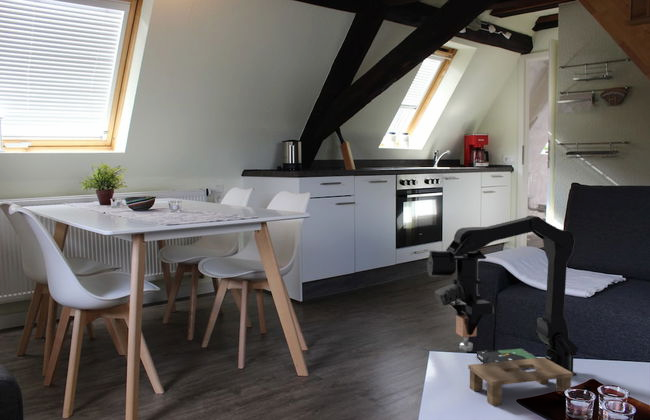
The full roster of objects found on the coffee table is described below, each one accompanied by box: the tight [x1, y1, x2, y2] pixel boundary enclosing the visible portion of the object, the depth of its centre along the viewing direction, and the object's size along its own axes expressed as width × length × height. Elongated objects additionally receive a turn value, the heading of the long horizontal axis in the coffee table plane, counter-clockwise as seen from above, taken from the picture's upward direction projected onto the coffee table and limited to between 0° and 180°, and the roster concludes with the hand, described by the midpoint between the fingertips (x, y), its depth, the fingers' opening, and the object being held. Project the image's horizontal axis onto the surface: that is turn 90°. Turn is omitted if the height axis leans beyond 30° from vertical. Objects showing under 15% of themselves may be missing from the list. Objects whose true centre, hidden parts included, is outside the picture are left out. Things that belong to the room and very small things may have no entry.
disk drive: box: [476, 348, 538, 363], centre depth 170 cm, size 10×3×15 cm
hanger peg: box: [455, 314, 478, 352], centre depth 158 cm, size 4×4×9 cm
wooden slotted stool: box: [467, 357, 574, 406], centre depth 148 cm, size 22×12×6 cm, turn 103°
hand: (466, 332), depth 158 cm, fingers closed on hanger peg, 4 cm apart
